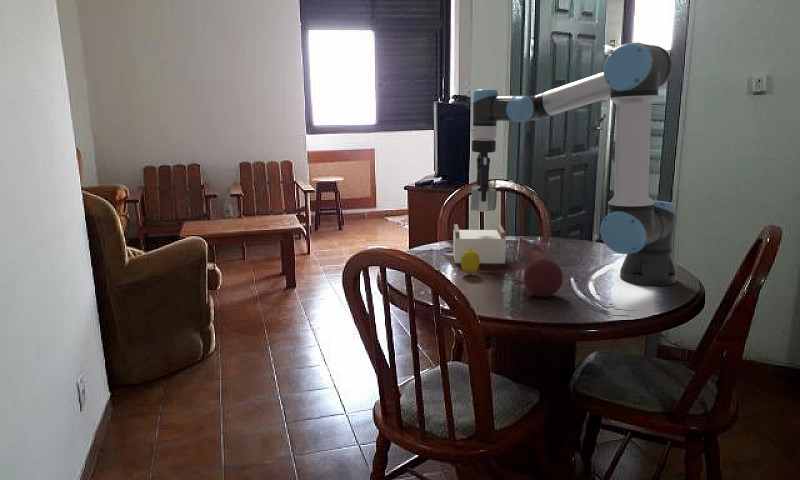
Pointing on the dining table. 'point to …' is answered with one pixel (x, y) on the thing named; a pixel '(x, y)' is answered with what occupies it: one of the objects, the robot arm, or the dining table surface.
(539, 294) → the decorative ball
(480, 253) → the display stand
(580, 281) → the dining table surface
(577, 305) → the dining table surface
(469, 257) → the lemon
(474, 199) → the ceramic mug
